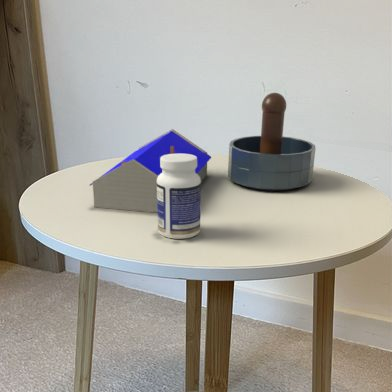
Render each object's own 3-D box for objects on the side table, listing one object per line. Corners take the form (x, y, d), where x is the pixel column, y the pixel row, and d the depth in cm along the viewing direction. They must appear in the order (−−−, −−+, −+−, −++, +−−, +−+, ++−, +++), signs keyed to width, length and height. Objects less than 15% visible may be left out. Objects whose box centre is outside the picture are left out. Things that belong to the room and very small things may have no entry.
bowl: (296, 168, 110) (299, 134, 107) (323, 191, 98) (327, 153, 95) (220, 171, 108) (221, 136, 105) (238, 194, 96) (240, 156, 93)
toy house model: (180, 214, 87) (180, 163, 83) (89, 206, 89) (85, 156, 86) (211, 175, 105) (212, 131, 101) (135, 169, 108) (133, 126, 104)
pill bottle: (207, 229, 82) (208, 154, 77) (189, 243, 77) (189, 164, 72) (169, 222, 84) (168, 149, 79) (149, 235, 79) (147, 159, 74)
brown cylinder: (276, 171, 106) (283, 90, 99) (283, 177, 103) (290, 94, 96) (254, 172, 105) (259, 91, 98) (260, 178, 102) (266, 94, 95)
